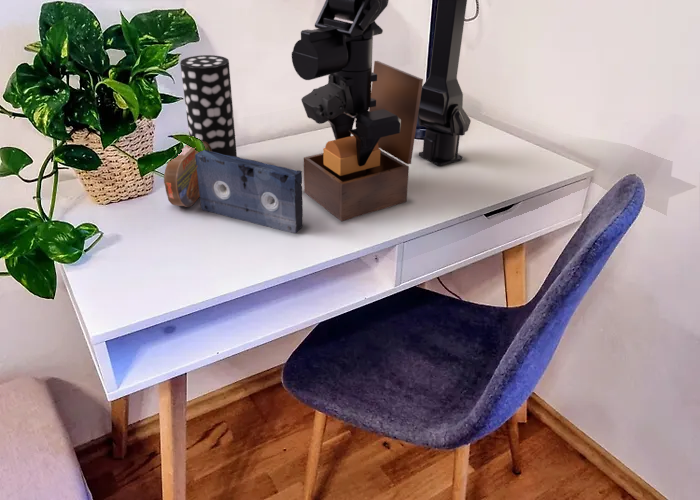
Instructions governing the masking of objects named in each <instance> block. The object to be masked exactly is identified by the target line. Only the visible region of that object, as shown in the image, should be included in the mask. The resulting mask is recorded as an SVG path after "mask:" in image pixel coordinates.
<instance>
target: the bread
mask: <svg viewBox="0 0 700 500" xmlns="http://www.w3.org/2000/svg"><path fill="white" fill-rule="evenodd" d="M322 149H323V150H322V153H323V162H324V165H325V166H326V167H328V168H329V169H331V170H332V171H334V172H335V173H337V174H338V175H340V176H342V175H346V174H350V173H354V172H358V171H361V170H365V169H369V168H373V167H376V166H380V152H381V151H382V149H380V148H379V146H378V142H377V144H376V146H375V147H374V149H373V151H372V153H371V154H370V156H369V158H368V160H367V162H366V164H365V165H363V166H359V165H358V160H357V148H356V138H355V137H354V136H353V135H351V136H350V137H345V138H341V139H337V140H335V139H333V140H328V141H327V142H326V143H325V147H323V148H322Z"/></svg>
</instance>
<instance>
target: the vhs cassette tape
mask: <svg viewBox="0 0 700 500" xmlns="http://www.w3.org/2000/svg"><path fill="white" fill-rule="evenodd" d="M195 160H196V165H197V176H198V186H199V194H200V197H199V202H200V209H201V210H202V211H204V212H208V213H214V214H217V215H220V216H224V217H227V218H233V219H237V220H240V221H245V222H249V223H251V224H255V225H259V226H263V227H264V226H265V227H268V228H272V229H276V230H279V231H283V232H287V233H291V234H296V233H297V232H299V230H301V229H302V227H303V225H304V223H303V221H304V210H303V208H304V206H303V203H304V201H303V185H302V184H303V173H302V172H303V171H302V170H297V169H292V168H289V167H285V166H279V165H276V164H271V163H265V162H261V161H258V160H253V159H249V158H242V157H239V156H237V157H235V156H229V155H223V154H220V153H216V152H212V151H207V150H203V151H200V152H198V153H197V154H196V155H195Z"/></svg>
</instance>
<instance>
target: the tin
mask: <svg viewBox="0 0 700 500" xmlns="http://www.w3.org/2000/svg"><path fill="white" fill-rule="evenodd" d="M202 142H203V144H204V146H205V149H206V150H207V151H212V149H211V147H210V145H209V144H208V143H207V142H205V141H202ZM195 148H196V147H195ZM195 148H192V147H190V146H188V145H187V144H186V145H185V146H183V147H182V148H181V150H182V152H181V153H180V154H178V156H177V157H176V158H174V159H172V158H171V159H172V160H171V159H170V160H171V161H170V160H169V161H168V163H166V167H165V169H164V176H163V184H164V187H165V193H166V196H167V200H168V202H169V203H170V204H171V205H173V206H175V207H185V208H190V207H192V206H193V205H195V203H196V202H197V201H198V199H200V194H199V186H198V176H197V165H196V160H195V155H196V154H197V153H198V151H196V150H195Z"/></svg>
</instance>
